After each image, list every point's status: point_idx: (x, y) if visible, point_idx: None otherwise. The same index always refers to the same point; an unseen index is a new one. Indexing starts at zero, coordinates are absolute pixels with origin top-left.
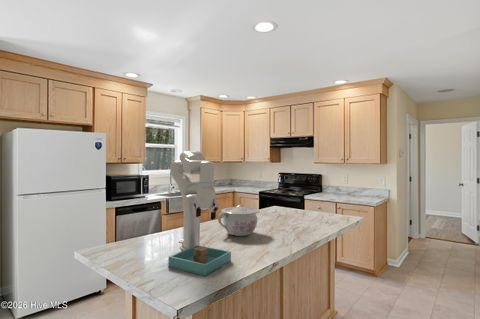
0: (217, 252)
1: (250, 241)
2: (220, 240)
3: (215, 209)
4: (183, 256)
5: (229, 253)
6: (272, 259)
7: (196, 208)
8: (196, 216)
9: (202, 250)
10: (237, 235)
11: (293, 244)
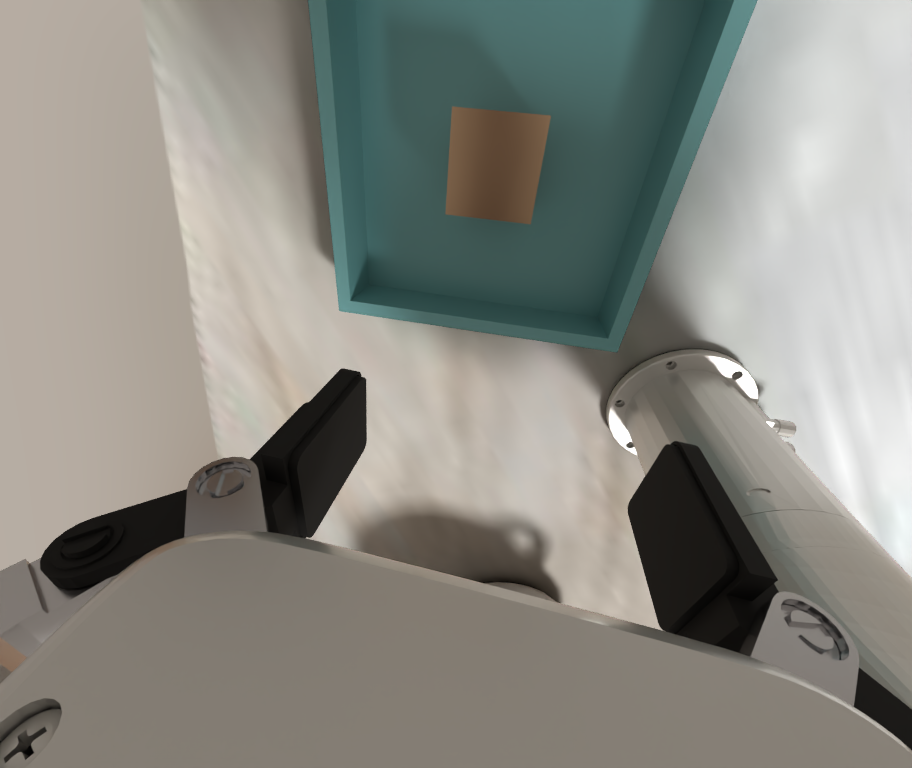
0: (435, 306)
1: (427, 542)
2: (558, 533)
3: (136, 517)
4: (658, 161)
5: (340, 292)
6: (229, 385)
7: (786, 618)
8: (685, 444)
9: (451, 120)
10: (502, 582)
11: None
